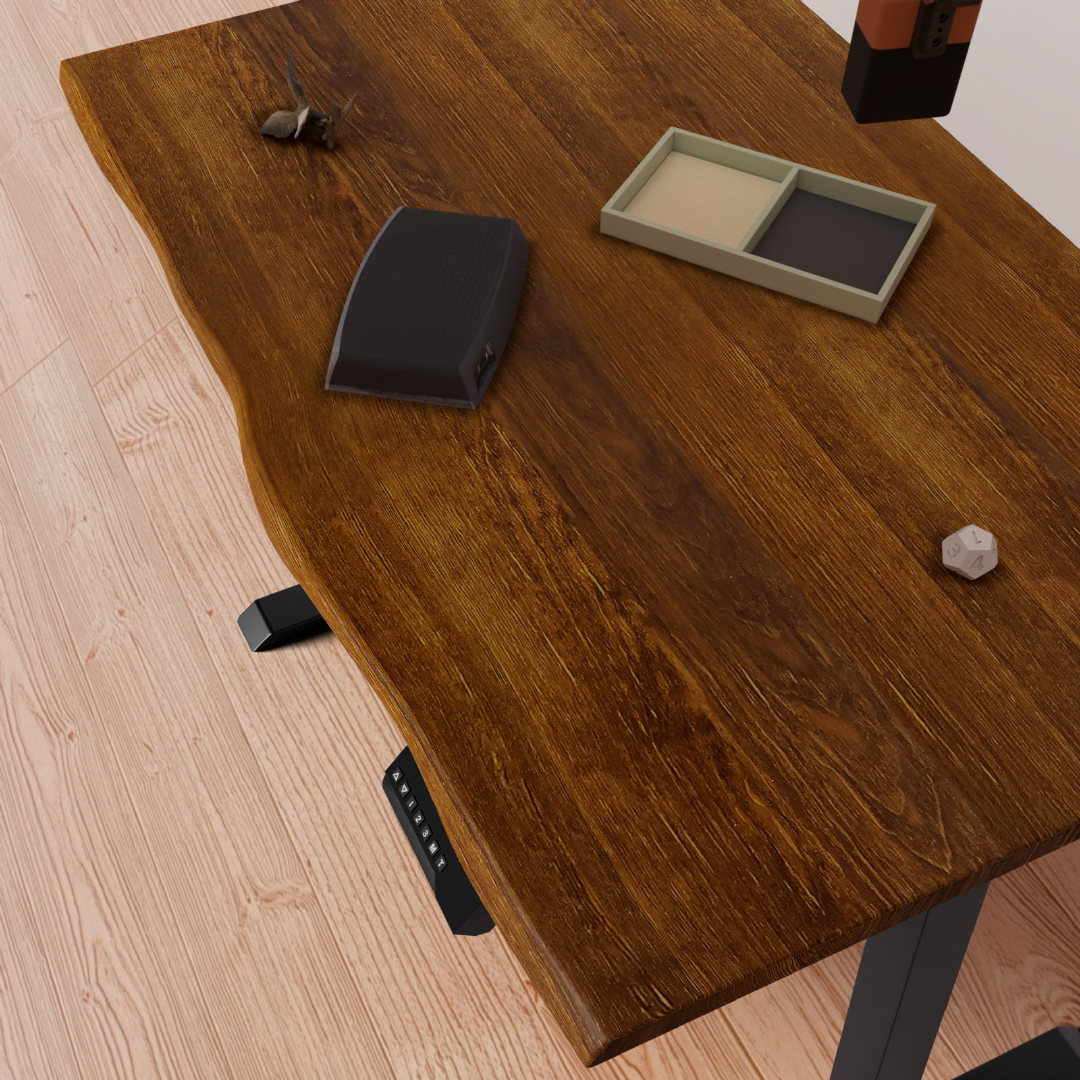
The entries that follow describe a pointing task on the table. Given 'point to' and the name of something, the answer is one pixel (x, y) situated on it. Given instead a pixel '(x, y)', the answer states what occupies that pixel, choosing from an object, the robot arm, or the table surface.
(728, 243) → the sorting tray
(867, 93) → the battery
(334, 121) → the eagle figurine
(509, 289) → the hard drive
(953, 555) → the game die
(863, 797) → the table surface
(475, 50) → the table surface
